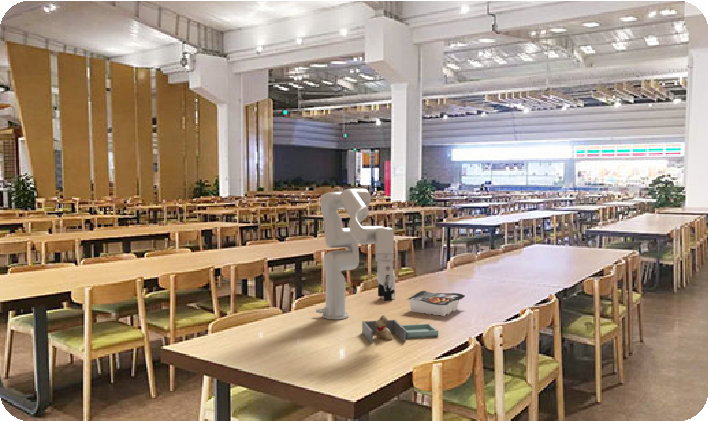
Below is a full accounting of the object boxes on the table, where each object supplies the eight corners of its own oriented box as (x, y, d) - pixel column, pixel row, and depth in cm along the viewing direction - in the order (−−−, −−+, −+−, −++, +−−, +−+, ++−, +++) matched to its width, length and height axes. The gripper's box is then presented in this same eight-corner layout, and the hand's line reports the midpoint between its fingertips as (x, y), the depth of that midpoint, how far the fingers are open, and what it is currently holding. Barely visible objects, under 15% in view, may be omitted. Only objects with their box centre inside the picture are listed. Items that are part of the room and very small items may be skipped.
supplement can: (382, 300, 305) (382, 273, 304) (378, 297, 313) (378, 270, 312) (396, 299, 307) (397, 272, 307) (391, 296, 315) (392, 270, 314)
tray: (407, 338, 233) (407, 332, 233) (399, 330, 244) (399, 325, 244) (438, 336, 236) (438, 330, 235) (429, 329, 247) (429, 323, 247)
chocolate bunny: (386, 334, 238) (386, 311, 238) (393, 339, 231) (394, 315, 231) (374, 336, 236) (374, 312, 236) (381, 341, 229) (381, 317, 229)
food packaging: (446, 303, 266) (403, 298, 277) (446, 319, 266) (403, 313, 278) (465, 294, 287) (424, 289, 299) (465, 308, 287) (424, 303, 299)
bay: (370, 343, 225) (370, 331, 225) (362, 332, 241) (362, 321, 241) (405, 341, 228) (405, 329, 228) (395, 331, 244) (395, 319, 244)
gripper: (399, 259, 224) (399, 302, 225) (388, 254, 241) (388, 294, 242) (380, 260, 222) (381, 303, 223) (371, 255, 239) (371, 294, 240)
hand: (384, 298), depth 232 cm, fingers open, 9 cm apart
